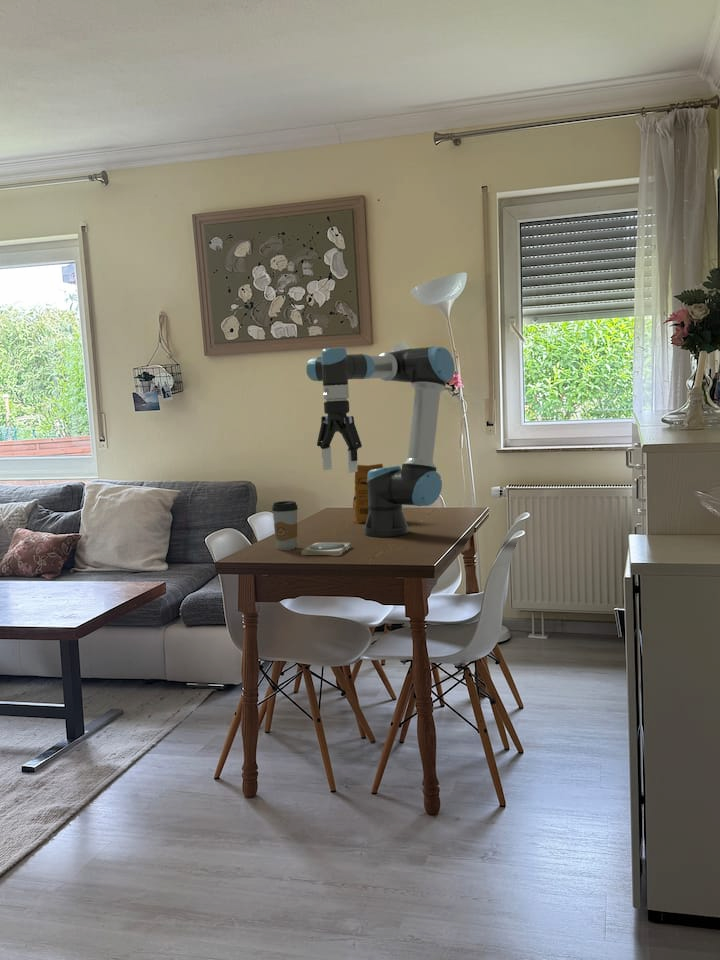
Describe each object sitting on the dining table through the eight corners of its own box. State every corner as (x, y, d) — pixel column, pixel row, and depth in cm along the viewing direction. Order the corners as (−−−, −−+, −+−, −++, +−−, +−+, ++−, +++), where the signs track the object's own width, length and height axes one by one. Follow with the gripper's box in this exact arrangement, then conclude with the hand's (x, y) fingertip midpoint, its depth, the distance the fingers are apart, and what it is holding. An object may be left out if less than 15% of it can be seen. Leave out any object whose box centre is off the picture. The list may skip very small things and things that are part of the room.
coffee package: (354, 520, 333) (351, 463, 330) (386, 519, 332) (383, 462, 330) (352, 524, 323) (350, 465, 320) (385, 523, 322) (383, 464, 320)
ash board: (316, 547, 279) (316, 541, 279) (351, 547, 275) (351, 542, 275) (301, 555, 265) (301, 550, 265) (338, 555, 262) (338, 550, 262)
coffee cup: (269, 550, 276) (267, 504, 274) (281, 545, 284) (278, 500, 282) (292, 551, 273) (290, 504, 271) (304, 546, 281) (301, 501, 279)
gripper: (303, 401, 264) (307, 469, 266) (350, 400, 244) (353, 474, 246) (323, 399, 268) (327, 467, 271) (371, 398, 248) (374, 471, 251)
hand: (340, 471), depth 259 cm, fingers open, 13 cm apart
